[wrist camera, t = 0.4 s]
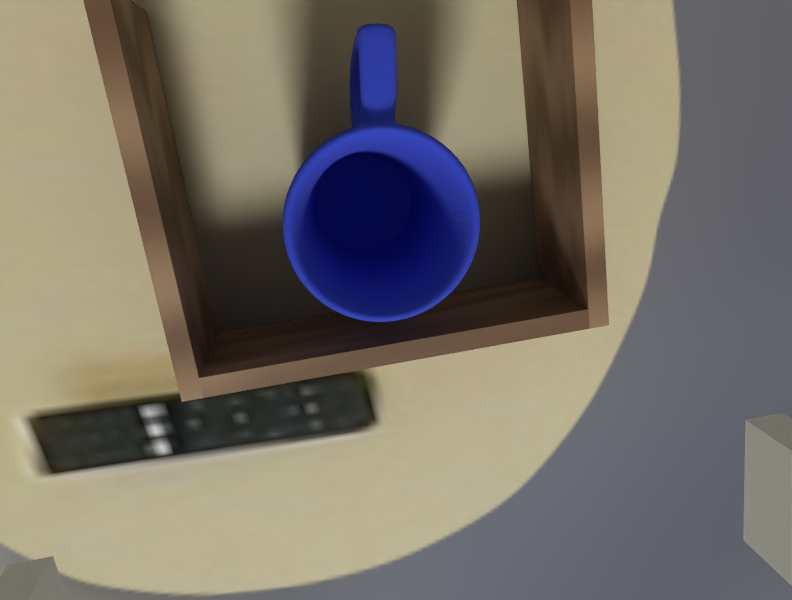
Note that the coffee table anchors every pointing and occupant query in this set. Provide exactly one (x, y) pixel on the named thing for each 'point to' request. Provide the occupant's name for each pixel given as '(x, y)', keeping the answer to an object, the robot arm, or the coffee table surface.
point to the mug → (380, 204)
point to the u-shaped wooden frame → (336, 333)
